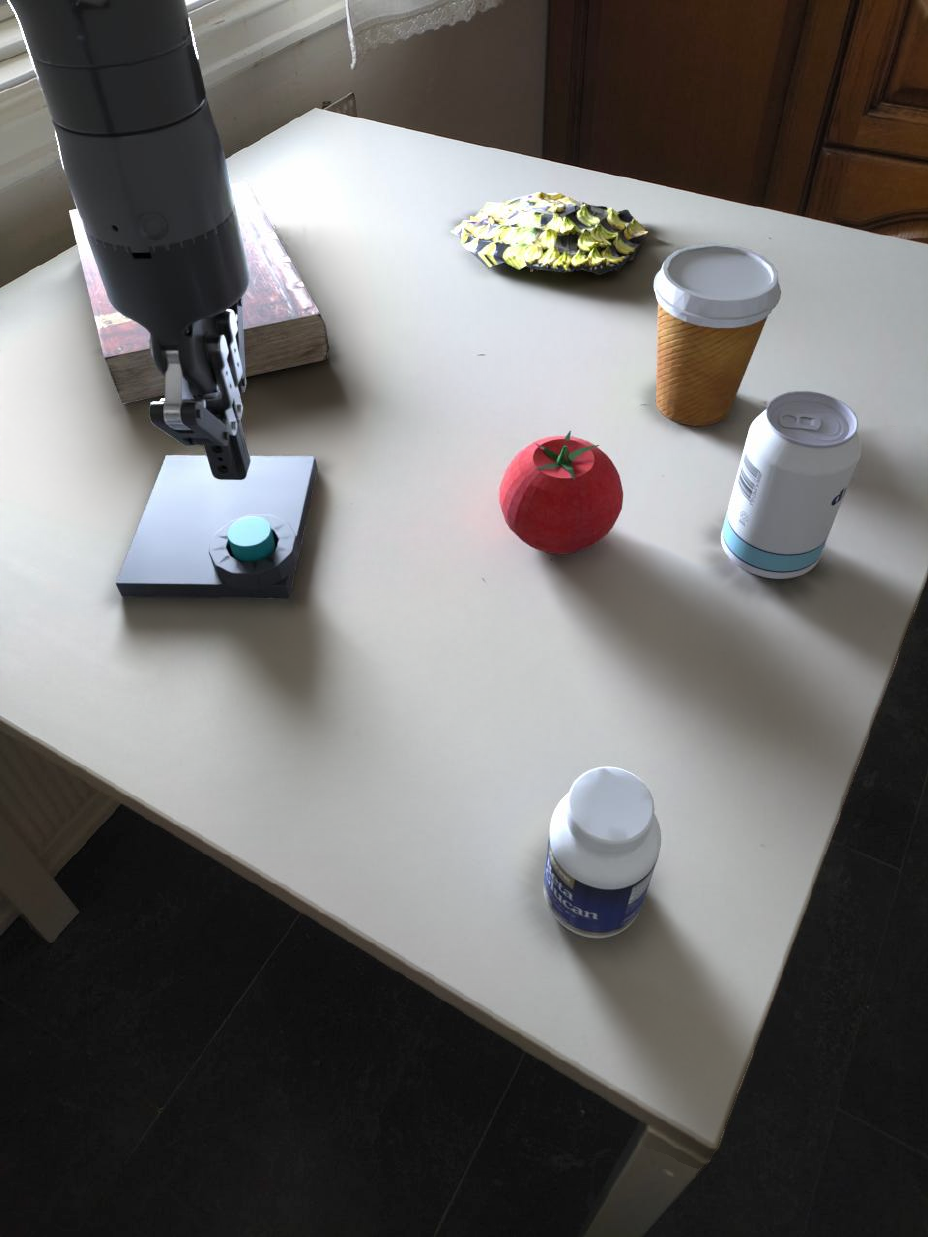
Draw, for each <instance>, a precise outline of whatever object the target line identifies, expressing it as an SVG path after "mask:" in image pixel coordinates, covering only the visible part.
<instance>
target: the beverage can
mask: <svg viewBox="0 0 928 1237" xmlns="http://www.w3.org/2000/svg"><path fill="white" fill-rule="evenodd" d="M858 429H859V420H858V416H857V415H856V413H855V411H854V410H853V409H852V408H851V407H850V406H849V405H847V404H846V403H845V402H843V401H842V400H840V399H838V398H836V397H833V396H831V395H828V394H825V393H822V392H818V391H809V390H794V391H789V392H785V393H781V394H780V395H777V396H776V397H774V398H772V399H771V400H770V401H769V403H768V405H767V406H766V409H765V410H764V411H763V412H761V413H760V414H759V415H758V416H756V418H755V419H754V420H752V423H751V424H750V426H749V429H748V433H747V437H746V440H745V444H744V448H743V451H742V455H741V458H740V462H739V466H738V470H737V474H736V477H735V481H734V485H733V487H732V488H733V489H732V493H731V495H730V500H729V503H728V507H727V512H726V514H725V517H724V522H723V526H722V529H721V533H720V534H721V535H720V542H721V546H722V549H723V551H724V552H725V554H726V555H727V557H728V558H729V559H730V560H731V561H732V562H733V563H734V564H735V565H736V566H738V567H739V568H741V569H743V570H744V571H746V572H748V573H750V574H753V575H755V576H759V577H763V578H767V579H775V580H784V579H785V580H786V579H792V578H796V577H799V576H803V575H805V574H807V573H809V572H810V571H811V570H812V569H813V568H814V567H815V566H816V565H817V564H818V563H819V560H820V558H821V555H822V553H823V551H824V548H825V545H826V542H827V540H828V537H829V535H830V534H831V530H832V527H833V525H834V522H835V519H836V517H837V515H838V512H839V510H840V507H841V504H842V502H843V500H844V497H845V494H846V492H847V489H848V487H849V484H850V482H851V480H852V476H853V474H854V471H855V469H856V467H857V464H858V462H859V459H860V456H861V451H862V443H861V439H860V435H859V432H858Z"/></svg>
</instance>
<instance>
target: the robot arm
mask: <svg viewBox="0 0 928 1237" xmlns="http://www.w3.org/2000/svg"><path fill="white" fill-rule="evenodd" d="M7 2H8V4H9V5H10V7H11V9H12V11H13V12H14V14H15V17H16V19H17V21H18V24H19V27H20V30H21V33H22V37H23V40H24V43H25V45H26V49H27V52H28V54H29V58H30V61H31V64H32V67H33V70H34V73H35V75H36V78H37V82H38V84H39V87H40V90H41V93H42V95H43V96H42V97H43V99H44V102H45V104H46V107H47V110H48V113H49V116H50V118H51V122H52V126H53V128H54V132H55V137H56V141H57V145H58V151H59V156H60V161H61V165H62V169H63V173H64V175H65V180H66V181H67V184H68V188H69V191H70V193H71V196H72V199H73V201H74V205H75V207H76V209H77V211H78V213H79V216H80V219H81V222H82V225H83V228H84V231H85V234H86V237H87V239H88V242H89V245H90V248H91V251H92V254H93V256H94V259H95V262H96V265H97V268H98V271H99V274H100V276H101V279H102V282H103V285H104V288H105V291H106V293H107V296H108V299H109V301H110V303H111V304H112V306H113V307H114V308H115V309H116V310H117V311H118V312H119V313H121V314H122V315H124V316H125V317H127V318H129V319H131V320H133V321H135V322H137V323H138V324H140V325H141V326H143V327H144V328H145V329H147V330H148V331H149V333H150V340H149V346H150V352H151V355H152V357H153V361H154V364H155V367H156V369H157V370H158V372H159V373H160V374H161V375H162V376H163V377H164V378H165V395H164V398H161V399H160V400H159V401H152V402H150V404H149V408H148V416H149V419H150V423H151V424H152V425H153V426H154V427H156V428H157V429H159V430H161V431H162V432H163V433H165V434H166V435H168V436H169V437H170V438H172V439H174V440H175V441H177V442H178V443H180V444H181V445H182V446H184V447H195V446H203V450H204V453H205V456H207V459H208V462H209V465H210V469H211V472H212V475H213V476H214V477H215V478H217V479H219V480H243V479H245V478H246V475H247V472H248V469H249V465H250V462H251V459H250V456H251V455H250V452H249V448H248V444H247V441H246V437H245V434H244V432H245V431H244V429H243V428H244V427H243V425H242V421H241V419H242V417H243V412H244V405H243V403H242V399H241V394H240V393H245V392H246V389H247V388H246V387H247V377H245V353H244V330H243V299H242V296H243V295H244V293H245V292H246V290H247V288H248V286H249V282H250V270H249V265H248V261H247V256H246V252H245V247H244V242H243V238H242V233H241V229H240V224H239V219H238V214H237V210H236V205H235V201H234V196H233V191H232V187H231V184H232V182H231V178H230V174H229V168H228V163H227V160H226V159H227V158H226V154H225V151H224V147H223V143H222V140H221V137H220V134H219V131H218V127H217V126H216V123H215V120H214V118H213V117H214V116H213V113H212V111H211V108H210V104H209V101H208V97H207V92H206V86H205V83H204V80H203V79H204V78H203V73H202V69H201V64H200V59H199V55H198V51H197V47H196V42H195V37H194V33H193V31H192V30H193V29H192V24H191V20H190V16H189V12H188V8H187V4H186V0H7Z"/></svg>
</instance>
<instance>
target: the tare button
mask: <svg viewBox="0 0 928 1237" xmlns="http://www.w3.org/2000/svg"><path fill="white" fill-rule="evenodd" d="M227 537H228V540H229V544H230V547H231V550H232V553H233V555H234V556H235V558H237V559H238V560H240V561H243V562H256V561H258V560H261V559H264V558H266V557H268V556H269V555H270V554H271V553H272V552H273V550H274V548H275V541H274V537H273V533H272V529H271V526H270V524H269V523H268V522H267V521H266V520H265V519H263V518H260V517H246V518H242V519H240V520H238V521H236V522H235V523H233V524H232V525H231V526H230V528H229V530H228V533H227Z"/></svg>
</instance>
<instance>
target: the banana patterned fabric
mask: <svg viewBox="0 0 928 1237" xmlns="http://www.w3.org/2000/svg"><path fill="white" fill-rule="evenodd" d="M450 232H451V233H452V234H453V235H456V236H457V237H459V238H460V239H461V241H460V242H461V245H462V246H463V247H464V248H465V249H466V250H467V251H468V252H469V253H471V254H472V255H473V256H474V257H475V258H476V259H478V260H479V261H480V262H481V263H482V264H483V265H485V267H487V268H488V269H490V268H492V267H494V266H498V265H502V264H505V263H506V264H507V265H508V266H511V267H512V268H514V269H516V270H518V271H520V270H521V269H523V268H525V267H527V268H530V269H529V271H530V272H533V271H534V270H536V271H538V270H539V271H541V270H542V271H546V272H551V271H552V272H554V273H573V272H574V271H575V270H576V272H578V271H580V270H583V271H585V272H590V273H593V274H596V275H598V276H601V275H603V274H606V273H609V272H610V271H614V272H615V271H617V272H619V271H620V269H621V268H622V267H623V266H624V265H625V264H626V263H627V262H631V261H633V259H635V255H636V253H637V252H638V251H639V249H640V248H641V247H642V241H643V240H644V238H645V237H646V236H647V234H648V233H649V231H647V230H646V227H645V226H644V225H642V223H640V222H639V221H638V220H636V219H635V217H634V216H633V215H632V214H631V212H630V210H629V209H623V210H620V211H616V210H615V209H614V208H613V207H609V208H608V207H607V206H604V205H593V204H589V203H586V202H583V201H579V200H576V199H574V198H571V197H568V196H566V195H564V194H562V193H560V192H553V193H552V192H551V193H546V192H542V191H539V192H535V193H531V194H528V195H522V196H520V197H519V196H518V197H516V198H513V199H510V200H507V201H506V200H505V201H503V202H486V204H485V206H484V207H483V208H481V210H480V211H479V212H478V213H477V214H476V215H475V216H473V215H470V218H469V220H467V219H464V220H463V221H462V222H461V224H459V225H458V226H455V228H454V230H451V231H450Z"/></svg>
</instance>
